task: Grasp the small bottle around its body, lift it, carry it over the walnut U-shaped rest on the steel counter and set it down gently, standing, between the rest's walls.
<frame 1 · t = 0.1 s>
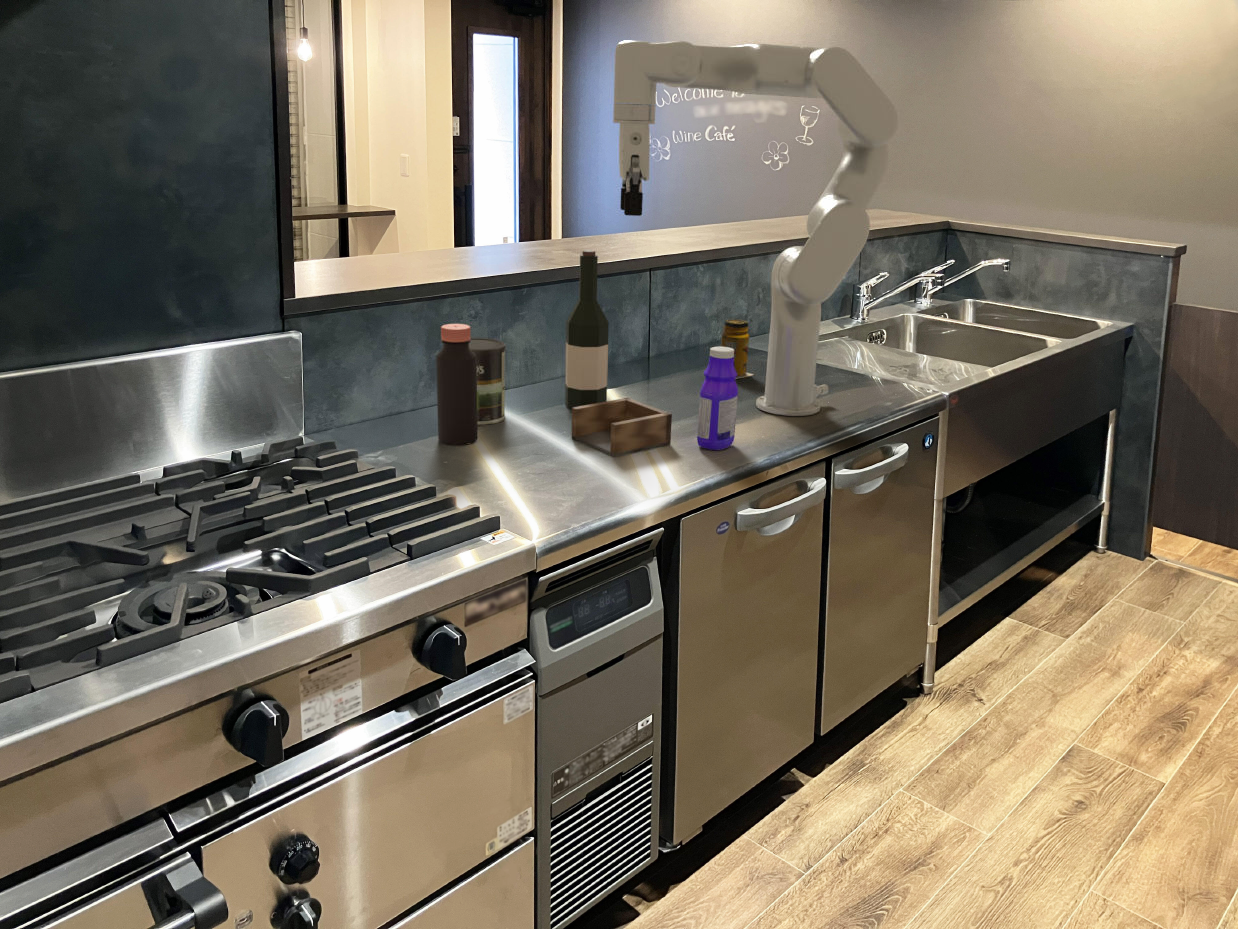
hand: (630, 212, 192), 37 cm above the countertop, tool pointing down, fingers open, 9 cm apart
vinegar: (458, 441, 181), on the countertop
u rest: (620, 441, 183), on the countertop
wine bottle: (585, 406, 204), on the countertop
condiment: (729, 375, 231), on the countertop
coffee can: (478, 418, 194), on the countertop
bottle: (715, 447, 182), on the countertop
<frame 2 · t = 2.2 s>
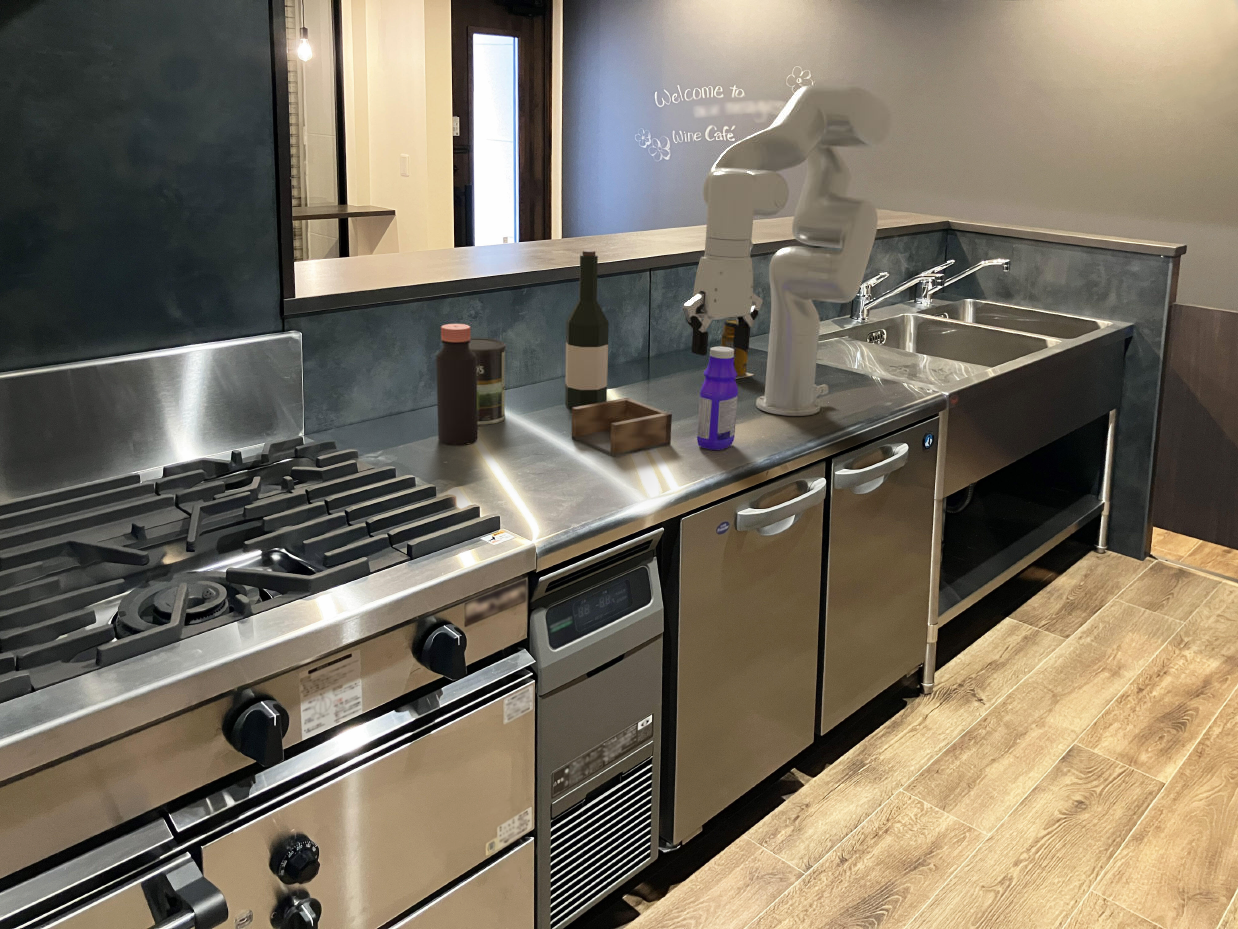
hand: (720, 351, 176), 17 cm above the countertop, tool pointing down, fingers open, 9 cm apart
nothing on the countertop moved.
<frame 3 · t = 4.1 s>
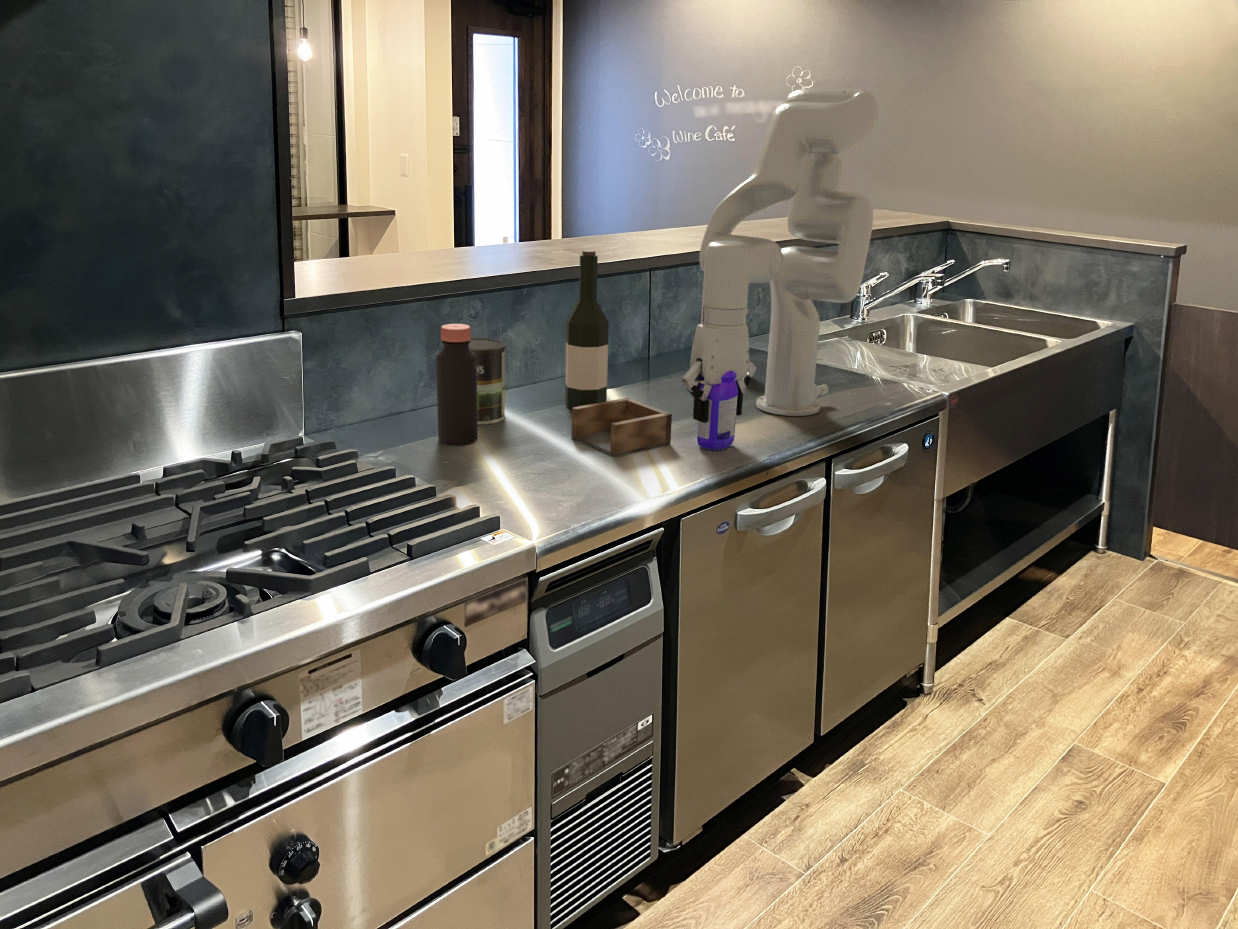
hand: (717, 416, 181), 5 cm above the countertop, tool pointing down, fingers closed on bottle, 7 cm apart
bottle: (715, 446, 182), on the countertop, touching gripper
everything else where it was.
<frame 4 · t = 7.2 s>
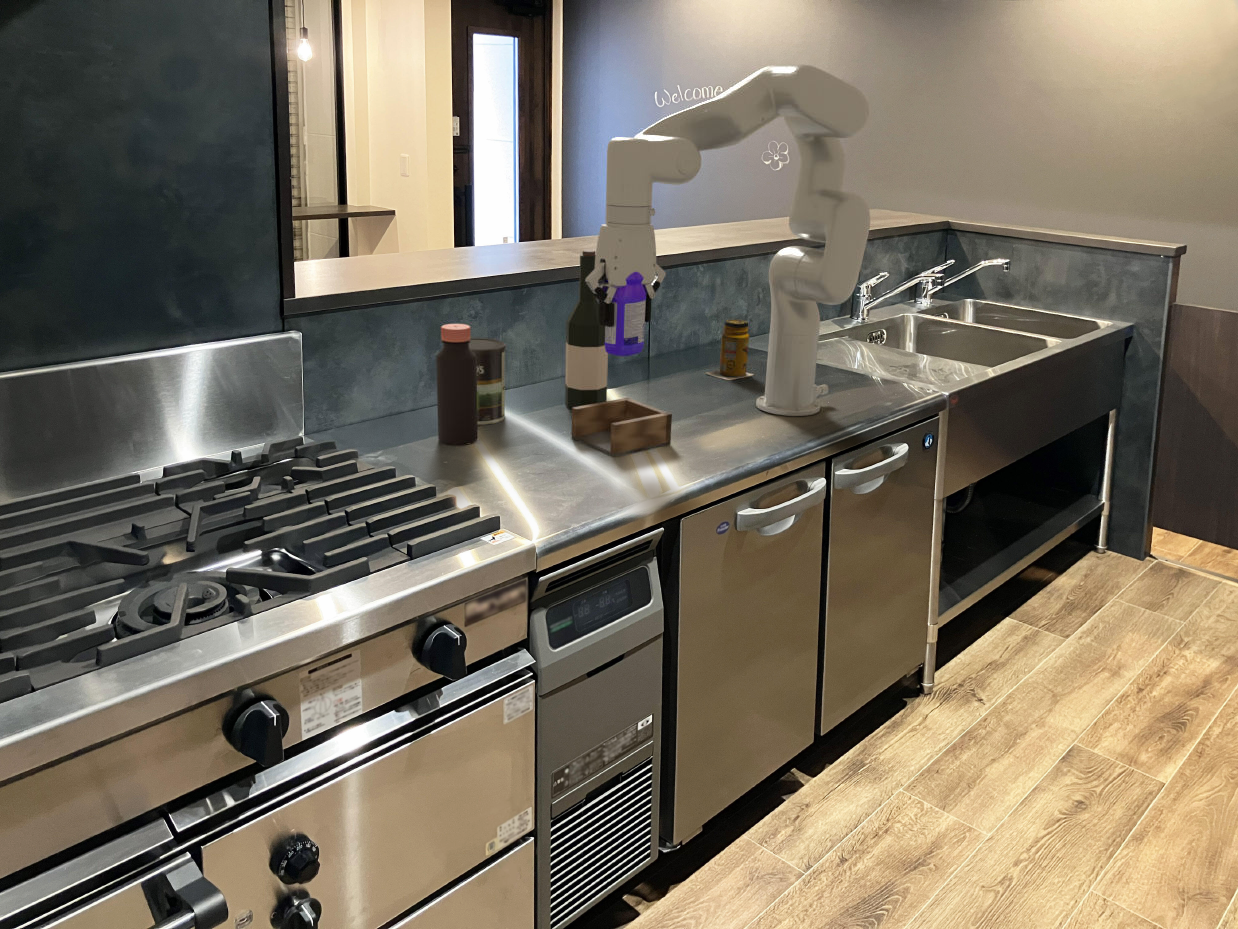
hand: (625, 322, 176), 21 cm above the countertop, tool pointing down, fingers closed on bottle, 7 cm apart
bottle: (624, 354, 178), point 16 cm above the countertop, touching gripper
everything else where it was.
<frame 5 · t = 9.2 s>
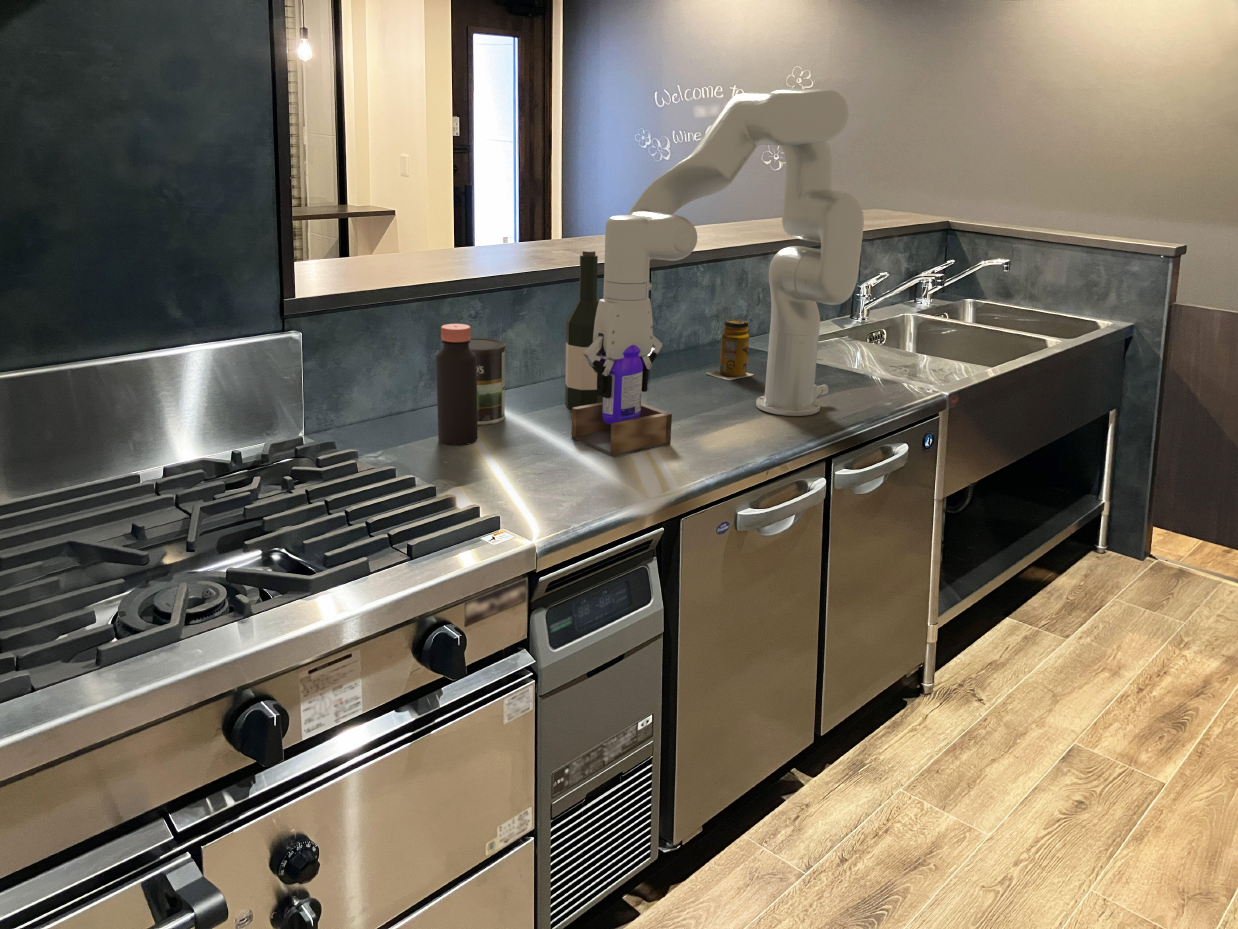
hand: (622, 392, 180), 9 cm above the countertop, tool pointing down, fingers closed on bottle, 7 cm apart
bottle: (621, 423, 182), point 3 cm above the countertop, touching gripper
everything else where it was.
when the fingers open (7 cm above the countertop, at t = 10.6 s): bottle drops 1 cm, resting on u rest.
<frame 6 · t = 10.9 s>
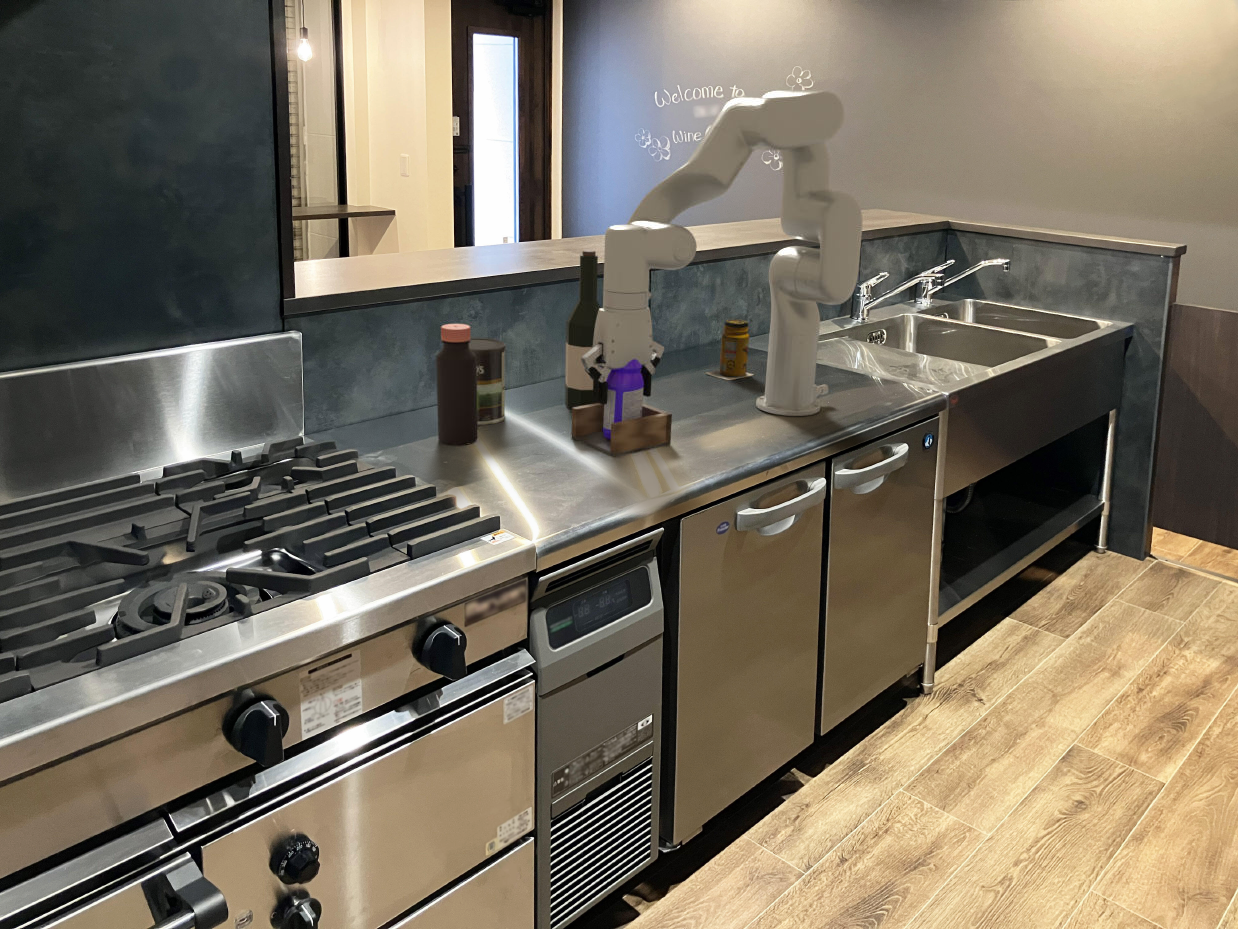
hand: (622, 398, 180), 8 cm above the countertop, tool pointing down, fingers open, 9 cm apart
bottle: (621, 438, 183), resting on u rest
everything else where it was.
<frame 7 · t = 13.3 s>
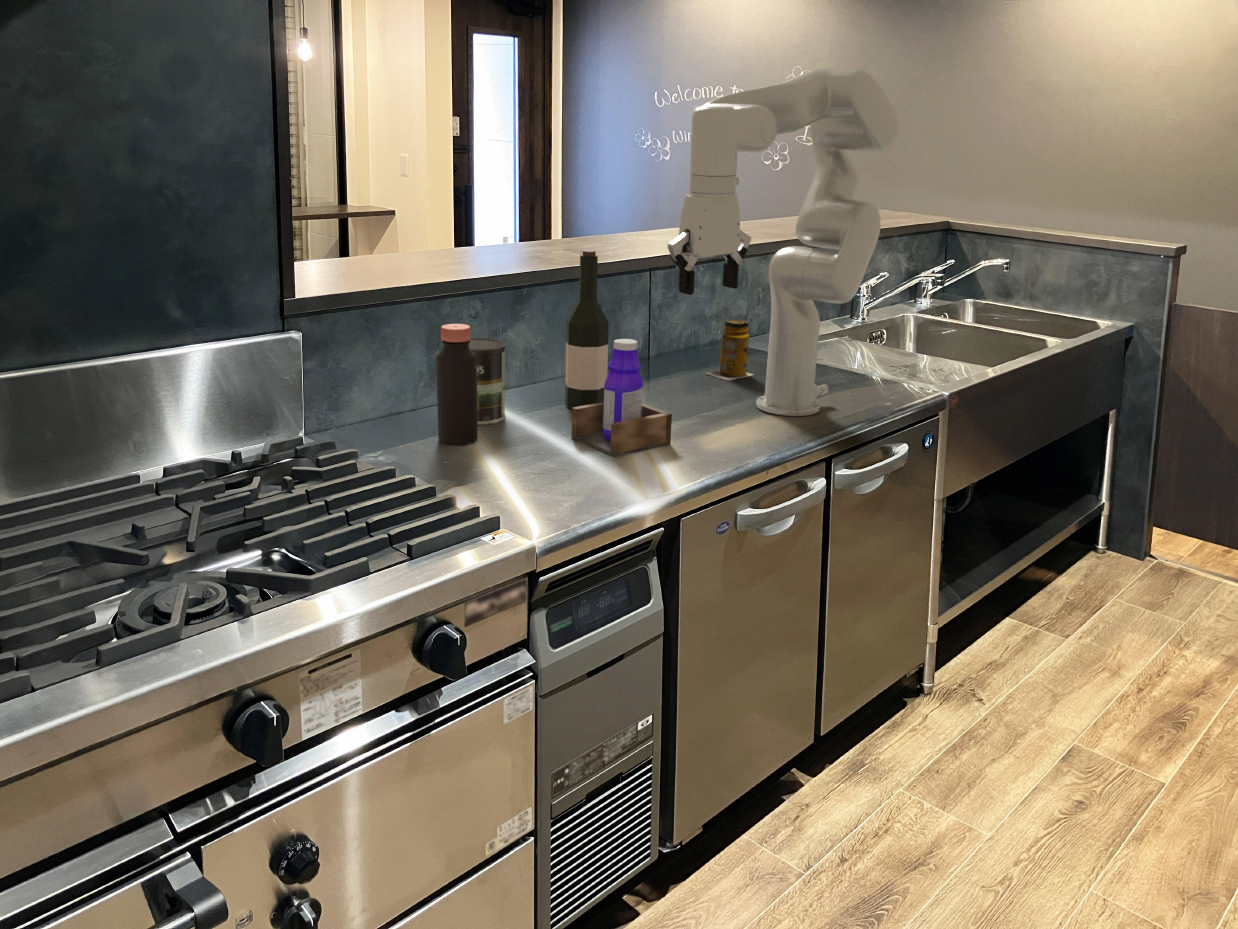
hand: (708, 290, 176), 27 cm above the countertop, tool pointing down, fingers open, 9 cm apart
nothing on the countertop moved.
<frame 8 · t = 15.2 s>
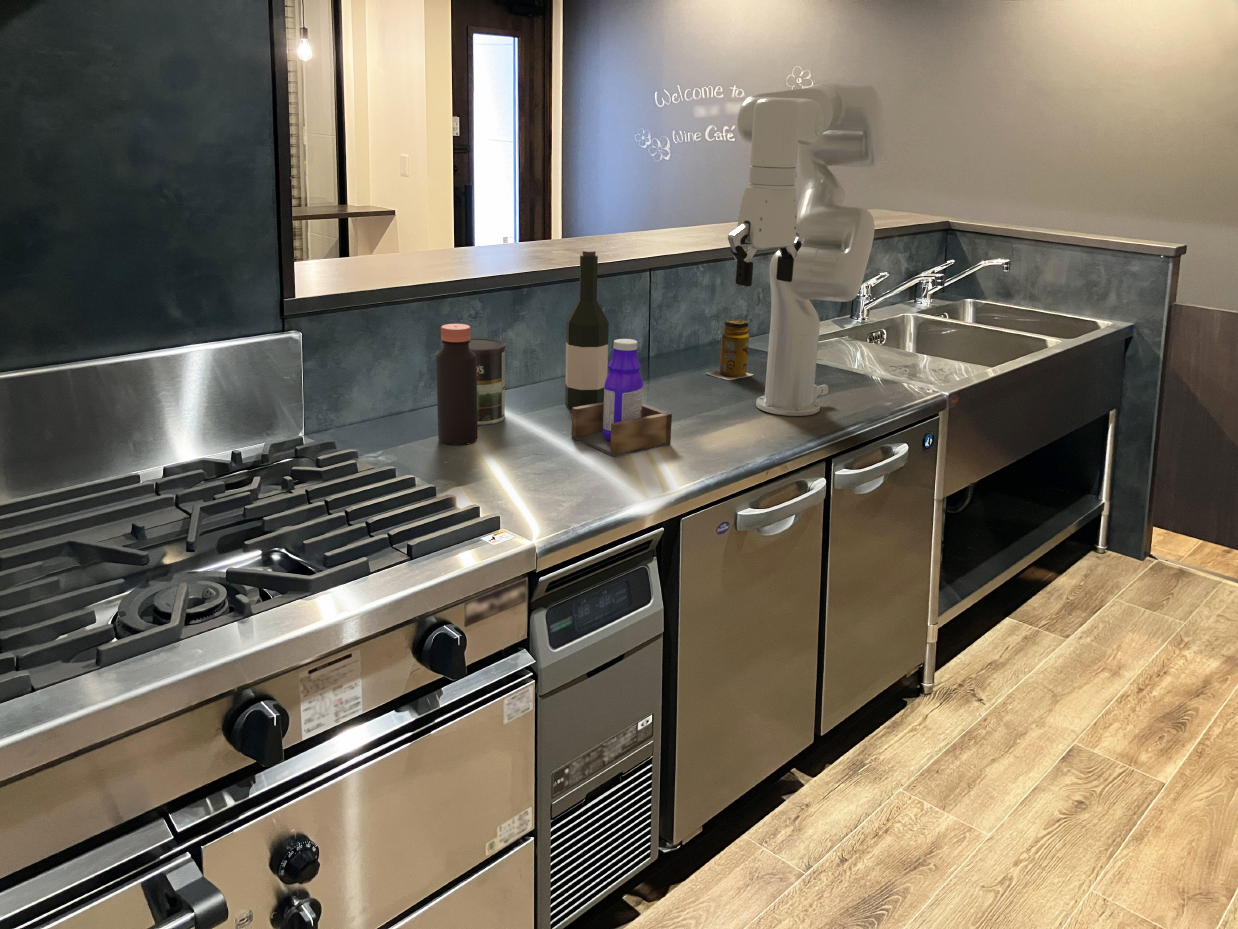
hand: (764, 282, 176), 28 cm above the countertop, tool pointing down, fingers open, 9 cm apart
nothing on the countertop moved.
at the end: bottle inside the target area on the u rest (0.5 cm from its centre), point 0.4 cm above the u rest's base; bottle tilted 0°; the gripper is holding nothing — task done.
